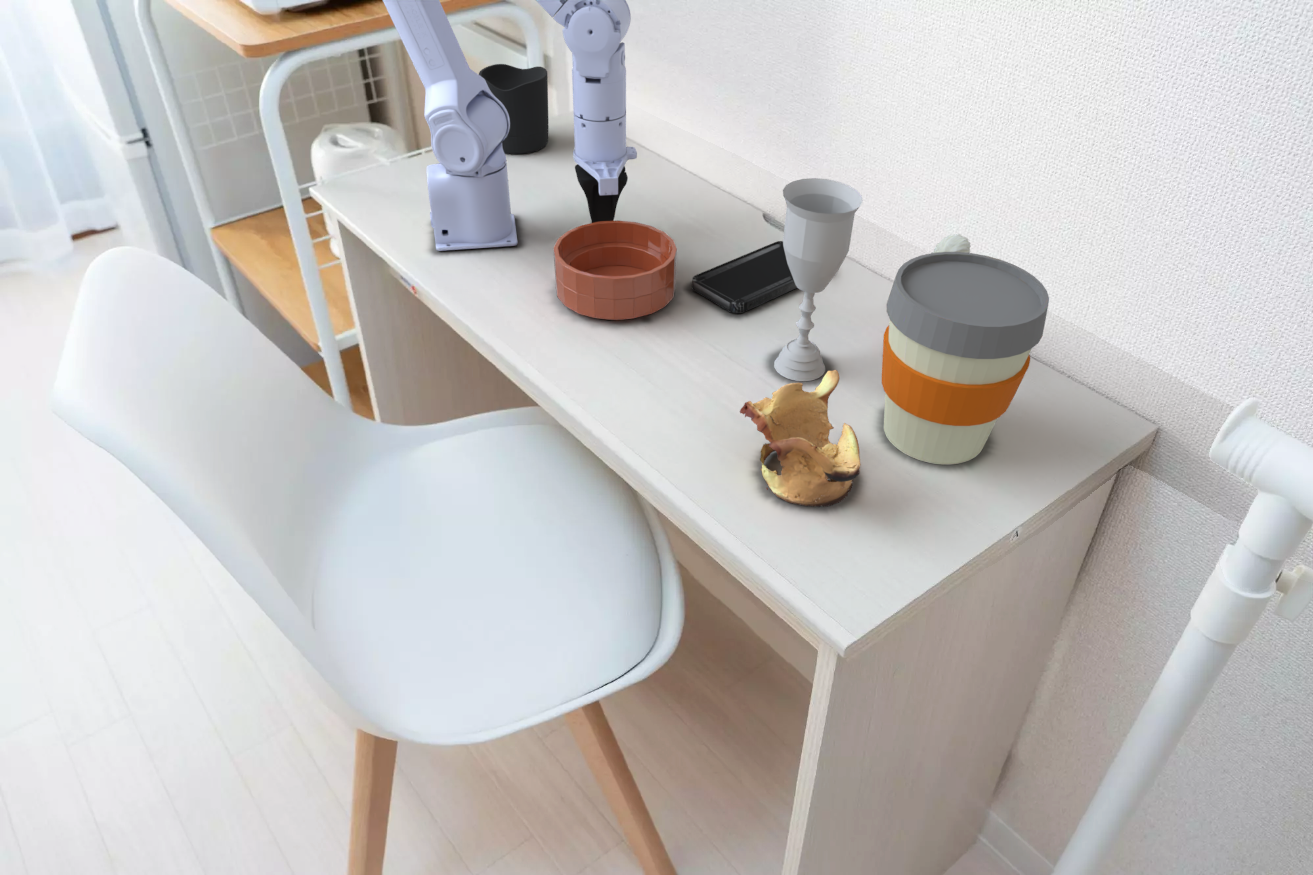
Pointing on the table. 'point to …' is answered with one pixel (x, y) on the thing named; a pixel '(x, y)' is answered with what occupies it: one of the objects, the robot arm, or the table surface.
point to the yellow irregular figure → (805, 445)
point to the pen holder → (521, 105)
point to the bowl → (615, 269)
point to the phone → (747, 279)
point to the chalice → (814, 259)
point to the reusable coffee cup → (956, 351)
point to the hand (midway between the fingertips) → (602, 227)
